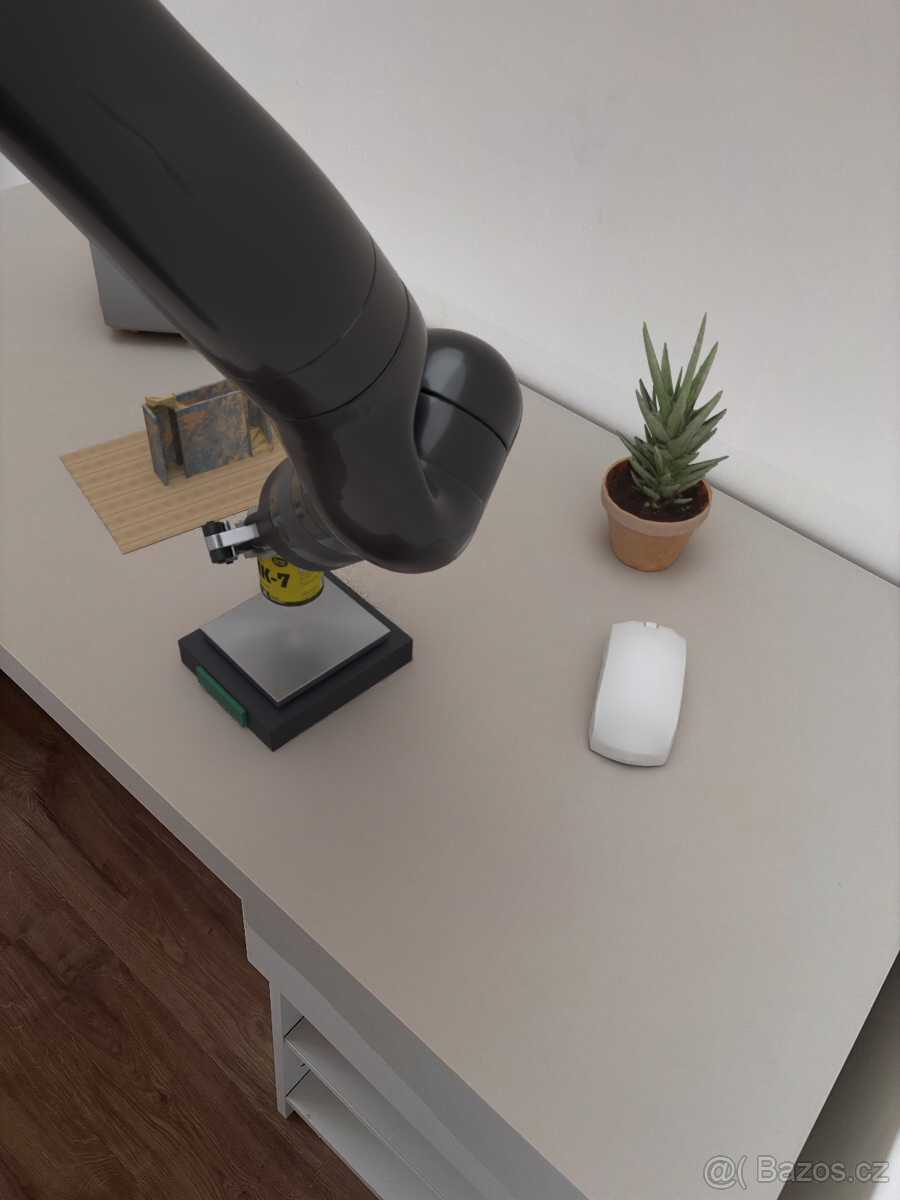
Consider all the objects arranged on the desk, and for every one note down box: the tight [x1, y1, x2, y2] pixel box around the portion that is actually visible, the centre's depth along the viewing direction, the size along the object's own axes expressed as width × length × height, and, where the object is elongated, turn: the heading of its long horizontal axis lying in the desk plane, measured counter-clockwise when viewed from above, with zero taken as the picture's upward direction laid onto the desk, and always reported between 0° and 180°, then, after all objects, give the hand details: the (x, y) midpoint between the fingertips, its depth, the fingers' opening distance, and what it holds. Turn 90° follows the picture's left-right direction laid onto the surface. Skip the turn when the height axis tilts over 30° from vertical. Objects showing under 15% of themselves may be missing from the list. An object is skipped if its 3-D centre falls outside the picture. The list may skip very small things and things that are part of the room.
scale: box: [177, 571, 414, 752], centre depth 84 cm, size 14×12×2 cm
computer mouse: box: [587, 620, 687, 767], centre depth 81 cm, size 6×13×6 cm, turn 166°
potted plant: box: [600, 311, 730, 573], centre depth 88 cm, size 10×10×25 cm
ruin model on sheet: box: [58, 378, 288, 554], centre depth 99 cm, size 25×16×10 cm, turn 124°
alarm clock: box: [88, 240, 180, 334], centre depth 117 cm, size 20×16×18 cm
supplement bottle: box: [256, 501, 324, 610], centre depth 76 cm, size 5×5×8 cm
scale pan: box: [199, 576, 390, 708], centre depth 83 cm, size 11×10×1 cm
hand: (280, 533), depth 78 cm, fingers closed on supplement bottle, 4 cm apart
